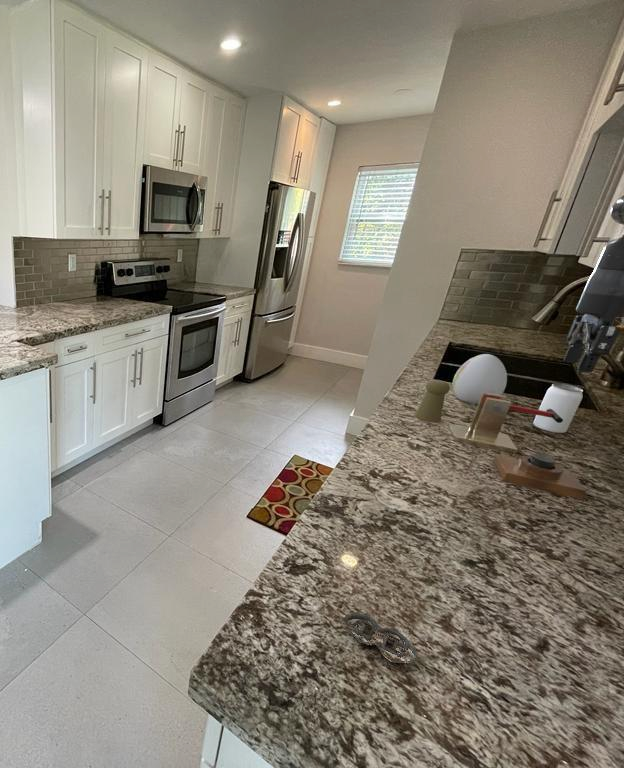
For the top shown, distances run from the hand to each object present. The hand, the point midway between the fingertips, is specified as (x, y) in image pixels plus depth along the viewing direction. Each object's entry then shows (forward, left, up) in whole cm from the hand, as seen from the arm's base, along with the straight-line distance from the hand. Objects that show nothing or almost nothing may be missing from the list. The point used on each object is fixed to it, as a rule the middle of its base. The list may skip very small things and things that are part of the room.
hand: (576, 366), depth 91 cm
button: (+5, +17, -18) cm, 25 cm away
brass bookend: (+11, 0, -22) cm, 24 cm away
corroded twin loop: (+35, +78, -22) cm, 88 cm away
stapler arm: (+6, 0, -13) cm, 14 cm away
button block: (+5, +17, -22) cm, 28 cm away
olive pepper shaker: (+21, -9, -22) cm, 32 cm away
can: (-7, -19, -22) cm, 30 cm away
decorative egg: (+7, -33, -22) cm, 40 cm away
